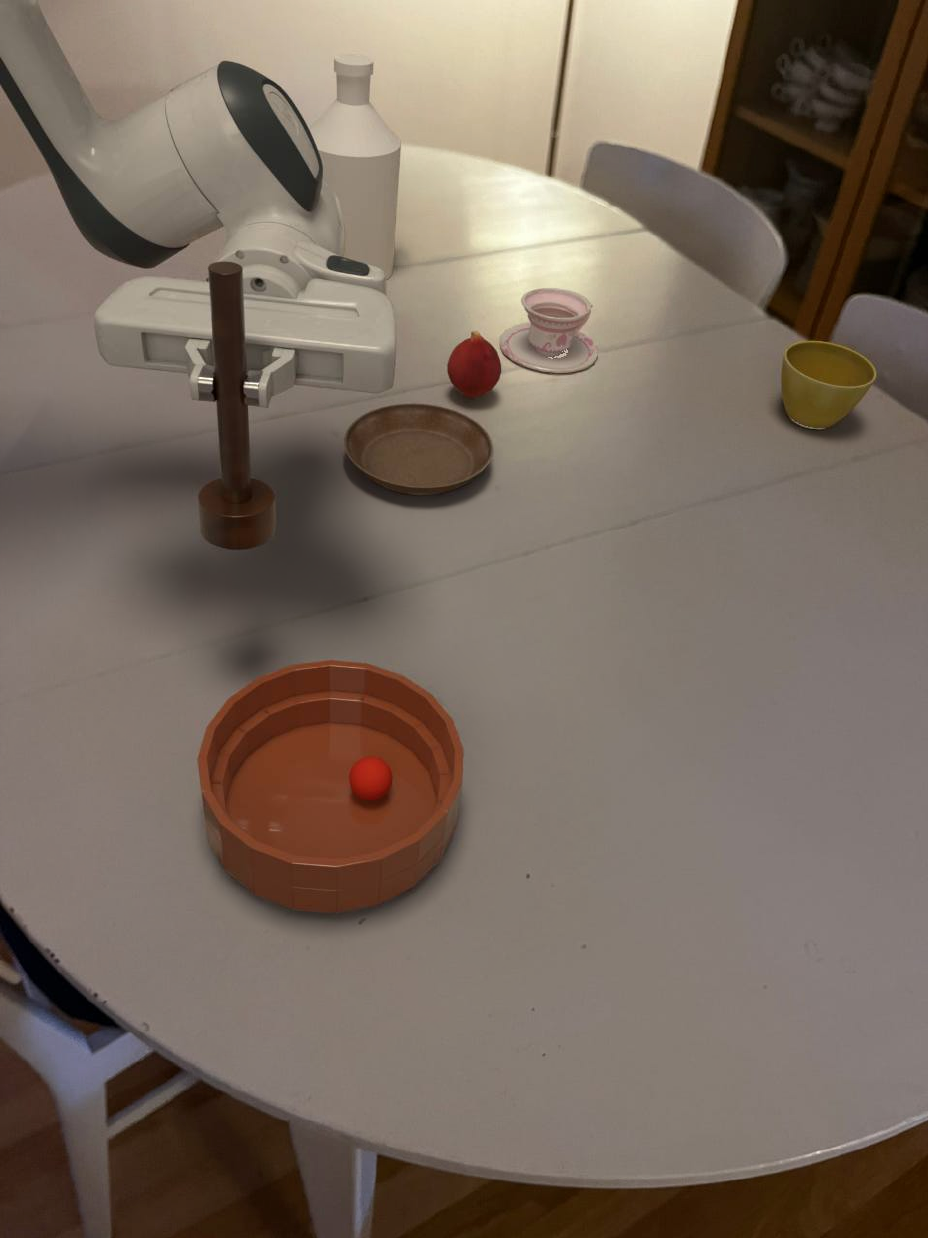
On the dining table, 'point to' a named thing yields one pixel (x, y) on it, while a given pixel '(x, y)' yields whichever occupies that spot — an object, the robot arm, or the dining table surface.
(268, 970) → the dining table surface
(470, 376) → the onion
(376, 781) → the cherry tomato
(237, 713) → the bowl
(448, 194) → the dining table surface
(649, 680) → the dining table surface
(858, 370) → the flower pot
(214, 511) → the wooden peg stand
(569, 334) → the teacup
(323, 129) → the bottle
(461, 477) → the saucer
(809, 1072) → the dining table surface
